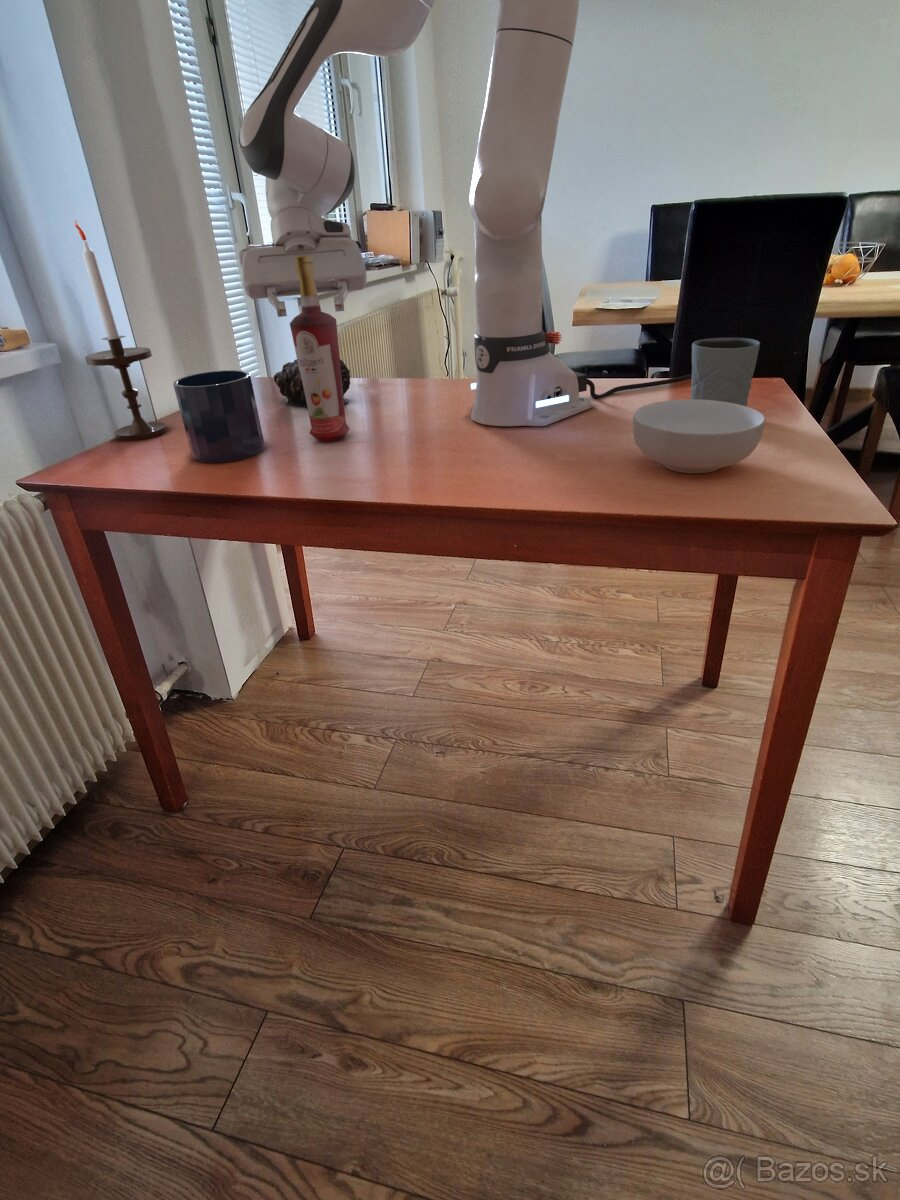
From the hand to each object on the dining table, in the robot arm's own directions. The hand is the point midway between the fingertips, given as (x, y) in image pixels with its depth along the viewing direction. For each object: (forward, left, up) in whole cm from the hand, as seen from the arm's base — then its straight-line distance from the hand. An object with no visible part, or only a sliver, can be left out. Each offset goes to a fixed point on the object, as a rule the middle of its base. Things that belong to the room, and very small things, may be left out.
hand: (311, 311), depth 109 cm
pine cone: (-6, -21, -20) cm, 30 cm away
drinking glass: (-51, +43, -20) cm, 70 cm away
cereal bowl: (-30, +55, -20) cm, 66 cm away
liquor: (+2, +5, -20) cm, 21 cm away
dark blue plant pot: (+18, -1, -20) cm, 27 cm away
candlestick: (+27, -25, -20) cm, 42 cm away
